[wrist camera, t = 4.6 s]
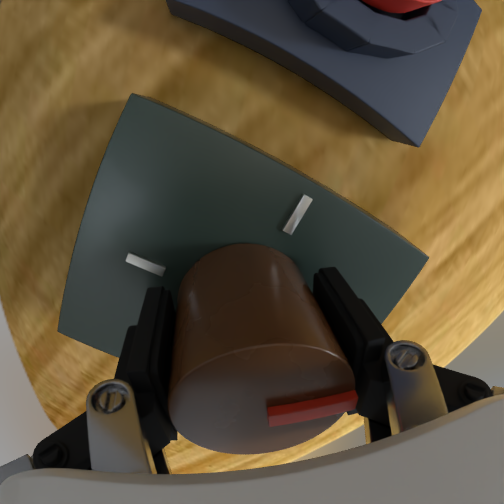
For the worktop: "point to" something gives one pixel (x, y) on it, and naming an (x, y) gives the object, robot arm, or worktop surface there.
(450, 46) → the button box
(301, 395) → the knob
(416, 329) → the worktop surface
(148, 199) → the panel
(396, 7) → the button
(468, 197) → the worktop surface
